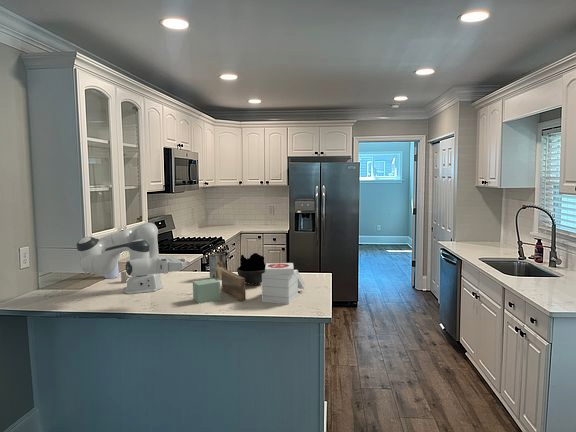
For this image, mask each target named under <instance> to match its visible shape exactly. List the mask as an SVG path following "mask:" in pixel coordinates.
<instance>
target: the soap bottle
mask: <svg viewBox="0 0 576 432" xmlns="http://www.w3.org/2000/svg"><path fill="white" fill-rule="evenodd" d="M119 276H120V271H119V260H118V261H117V265H116V267H115V269H114V270H113V271H112V272H111V273H109V274H103V277H104V278H105V279H116V278H119Z"/></svg>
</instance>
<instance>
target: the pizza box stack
mask: <svg viewBox="0 0 576 432" xmlns="http://www.w3.org/2000/svg"><path fill="white" fill-rule="evenodd" d="M265 265H266V267H265V273H263V274H262V282H261V299H262V301H261V302H264V303H273V304H283V305H284V304H286V305H290V304H291V303H292V302H294V300H295V299H297V298H298V297H299V289H302V290H304V289H305V286H306V283H305V280H303V277H302V276H301V274H300V272H299V270H298V269H294V262H275V263H270V262H269V263H268V262H267V263H265Z"/></svg>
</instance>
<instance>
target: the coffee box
mask: <svg viewBox="0 0 576 432" xmlns="http://www.w3.org/2000/svg"><path fill="white" fill-rule="evenodd" d="M226 259H227V258H226V253H222V252H218V253H214V254H209V255H208V263H209V264H208V265H209V266H208V267H209V279H215V280H217V281H220V280H222V273H221V270H227V264H226V262H227V260H226Z"/></svg>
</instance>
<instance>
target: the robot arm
mask: <svg viewBox="0 0 576 432" xmlns="http://www.w3.org/2000/svg"><path fill="white" fill-rule="evenodd" d="M158 235H159V229H158V227H157V225H156V224H154V223H153V222H145V223H141V224H138V225H136V226H132V227H129V228H127V229H123V230H120V231H117V232H116V231H115V232H113V233H110V234H107V235H105V236H102V237H100V238H95V237H93V236H86V237H83V238H81V239H79V240H78V241H77V243H76V246H75V247H76V250H77V251H78V254H79V257H80V259H81V260H80V264H79V265H80V269H81V270H82V272H84V273H88V274H91V275H99V276H100V275H104V274H109V273H111V272H112V271H113V270H114V269H115V267H116V265H117V261H118V262H119V260H118V259H119V256H120V254H121V253H124V252H126V251H127V252H128V253H129V260H127V261H126V263H125V271H126V273H127V274H126V275H128V276H129V277H130V278H129V279H127V280H126V286H125V287H123V288H122V292H123V293H124V294H127V295H130V294H131V295H132V294H133V295H134V294H140V293H141V294H142V293H152V292H157V291H158V290H161V289H163V287H164V286H163V283H162V279H161V274H164V275H166V274H169V273H171V272H172V273H173V272H177V271H182V270H184V268H185V267H186V266H190V264H191V262H190V261H189V260H187V261H186V259H185V258H176V257H174V256H165V255H160V253H159V244H158V242H159V241H158Z"/></svg>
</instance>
